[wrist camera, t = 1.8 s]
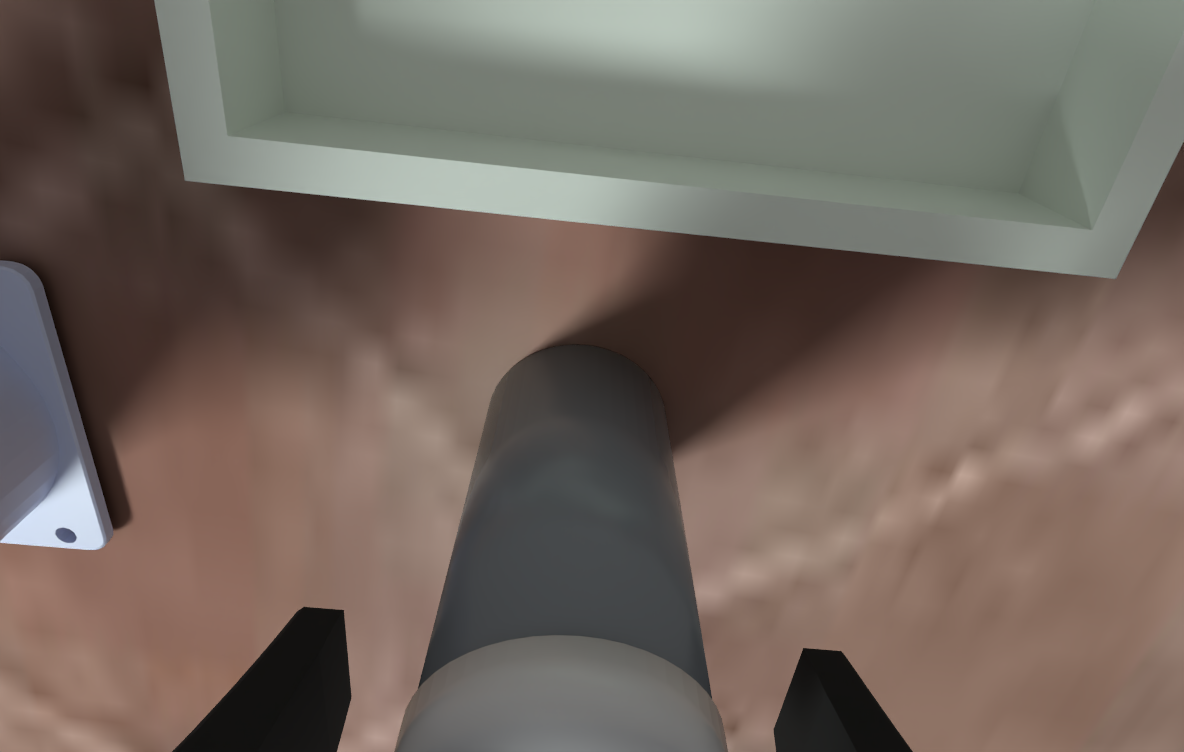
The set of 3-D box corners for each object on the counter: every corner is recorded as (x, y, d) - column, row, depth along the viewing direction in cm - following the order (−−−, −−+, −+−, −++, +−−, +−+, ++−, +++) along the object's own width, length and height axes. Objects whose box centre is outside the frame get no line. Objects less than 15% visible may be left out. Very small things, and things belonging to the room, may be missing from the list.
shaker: (481, 489, 19) (385, 916, 10) (487, 331, 16) (371, 706, 8) (655, 504, 19) (704, 933, 10) (684, 350, 17) (776, 736, 8)
